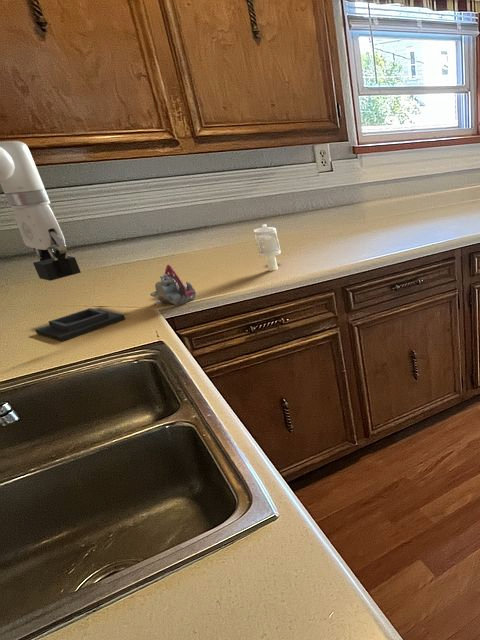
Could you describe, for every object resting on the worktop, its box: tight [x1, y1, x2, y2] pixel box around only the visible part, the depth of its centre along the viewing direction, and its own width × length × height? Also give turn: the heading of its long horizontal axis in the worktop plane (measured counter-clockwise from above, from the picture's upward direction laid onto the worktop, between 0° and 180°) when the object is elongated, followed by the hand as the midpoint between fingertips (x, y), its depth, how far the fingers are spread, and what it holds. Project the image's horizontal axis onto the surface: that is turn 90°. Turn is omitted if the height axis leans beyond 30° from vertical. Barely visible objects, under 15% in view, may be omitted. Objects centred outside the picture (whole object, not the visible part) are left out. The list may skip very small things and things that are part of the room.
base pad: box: [34, 307, 126, 342], centre depth 138 cm, size 16×12×3 cm
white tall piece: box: [253, 223, 282, 272], centre depth 177 cm, size 7×7×15 cm
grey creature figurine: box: [149, 264, 197, 306], centre depth 151 cm, size 11×11×12 cm
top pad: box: [32, 255, 81, 282], centre depth 128 cm, size 7×5×4 cm
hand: (59, 273), depth 129 cm, fingers closed on top pad, 5 cm apart
